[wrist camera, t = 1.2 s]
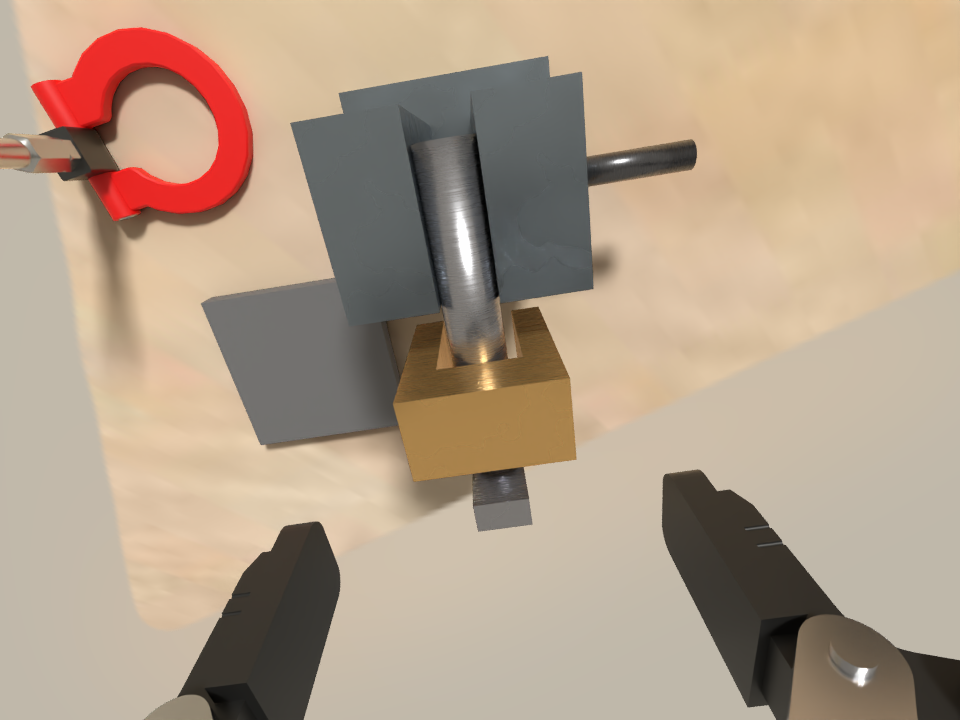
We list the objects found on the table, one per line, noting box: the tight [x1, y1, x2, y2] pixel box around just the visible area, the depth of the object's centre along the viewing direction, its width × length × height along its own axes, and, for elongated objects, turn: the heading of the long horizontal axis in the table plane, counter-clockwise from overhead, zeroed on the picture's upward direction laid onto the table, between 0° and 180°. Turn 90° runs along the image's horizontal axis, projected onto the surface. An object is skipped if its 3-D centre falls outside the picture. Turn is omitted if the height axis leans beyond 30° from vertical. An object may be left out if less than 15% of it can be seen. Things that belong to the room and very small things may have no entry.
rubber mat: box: [201, 278, 400, 445], centre depth 29 cm, size 10×10×1 cm
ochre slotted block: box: [393, 307, 576, 482], centre depth 18 cm, size 5×3×7 cm, turn 99°
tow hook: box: [0, 27, 253, 221], centre depth 19 cm, size 8×13×9 cm
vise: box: [290, 56, 697, 531], centre depth 20 cm, size 15×16×14 cm
